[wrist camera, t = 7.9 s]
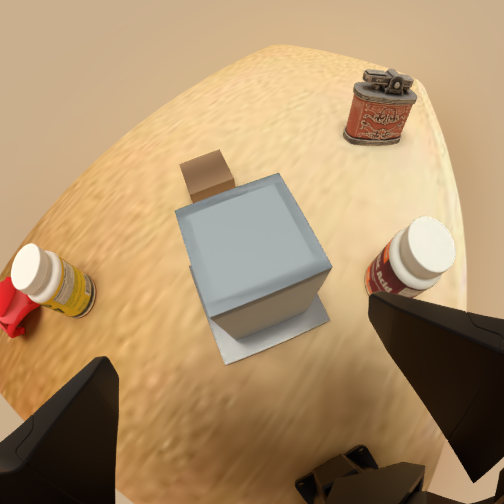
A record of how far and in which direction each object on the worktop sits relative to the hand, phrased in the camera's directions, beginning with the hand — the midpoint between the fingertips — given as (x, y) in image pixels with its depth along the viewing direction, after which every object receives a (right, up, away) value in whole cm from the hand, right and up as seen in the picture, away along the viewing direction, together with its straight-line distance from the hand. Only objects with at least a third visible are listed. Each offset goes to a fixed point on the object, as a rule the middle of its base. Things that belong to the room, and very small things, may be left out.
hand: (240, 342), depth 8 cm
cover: (+1, -1, +14) cm, 14 cm away
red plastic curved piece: (-26, -4, +15) cm, 30 cm away
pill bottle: (+12, 0, +14) cm, 19 cm away
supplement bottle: (-17, -2, +16) cm, 23 cm away
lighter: (+15, +17, +22) cm, 32 cm away
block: (-4, +8, +19) cm, 21 cm away
